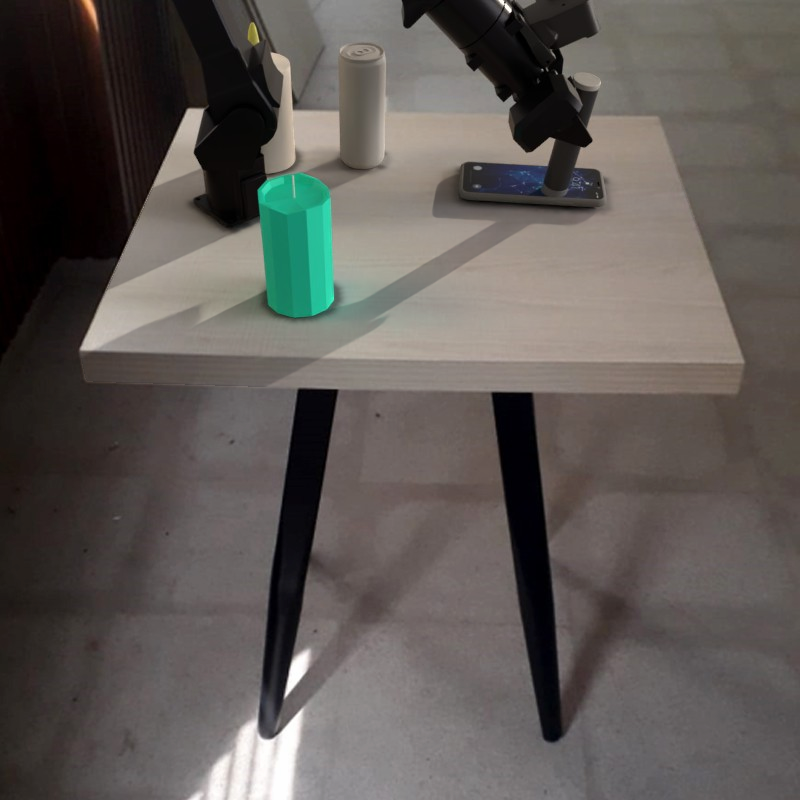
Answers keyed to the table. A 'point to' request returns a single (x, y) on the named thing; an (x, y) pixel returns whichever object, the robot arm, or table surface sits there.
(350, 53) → the beverage can
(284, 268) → the candle
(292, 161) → the candle
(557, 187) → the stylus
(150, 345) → the table surface
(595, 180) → the smartphone
